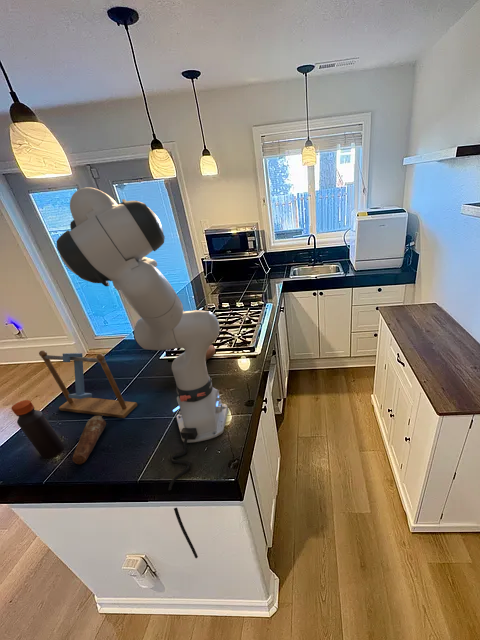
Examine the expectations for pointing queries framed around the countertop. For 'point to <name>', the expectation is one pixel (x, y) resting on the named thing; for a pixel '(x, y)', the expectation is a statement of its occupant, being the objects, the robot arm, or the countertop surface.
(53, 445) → the bottle
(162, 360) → the countertop surface
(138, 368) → the countertop surface
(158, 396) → the countertop surface
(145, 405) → the countertop surface
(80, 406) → the rail stand
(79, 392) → the hanger
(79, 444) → the bread
